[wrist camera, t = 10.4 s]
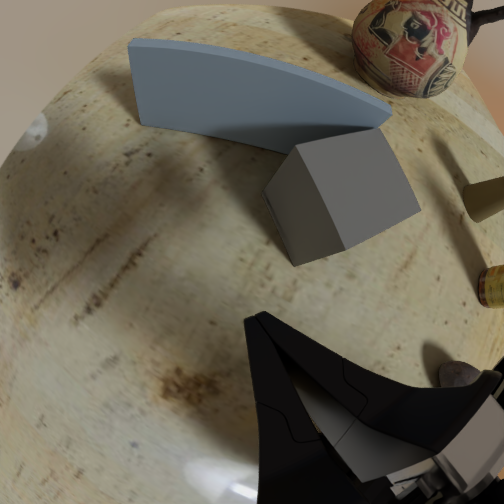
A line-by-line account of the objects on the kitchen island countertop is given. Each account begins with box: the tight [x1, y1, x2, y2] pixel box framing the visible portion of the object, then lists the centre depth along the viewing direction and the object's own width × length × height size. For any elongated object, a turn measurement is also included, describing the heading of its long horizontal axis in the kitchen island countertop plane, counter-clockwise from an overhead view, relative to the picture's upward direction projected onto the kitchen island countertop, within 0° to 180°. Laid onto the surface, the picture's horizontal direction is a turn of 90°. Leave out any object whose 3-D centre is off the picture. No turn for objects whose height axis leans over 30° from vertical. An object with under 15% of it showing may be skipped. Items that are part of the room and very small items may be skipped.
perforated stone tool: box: [439, 361, 481, 387], centre depth 23 cm, size 15×5×7 cm, turn 46°
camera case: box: [261, 128, 421, 267], centre depth 21 cm, size 7×8×8 cm
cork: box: [463, 176, 504, 223], centre depth 27 cm, size 6×6×11 cm
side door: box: [127, 38, 392, 155], centre depth 20 cm, size 1×19×10 cm, turn 81°
